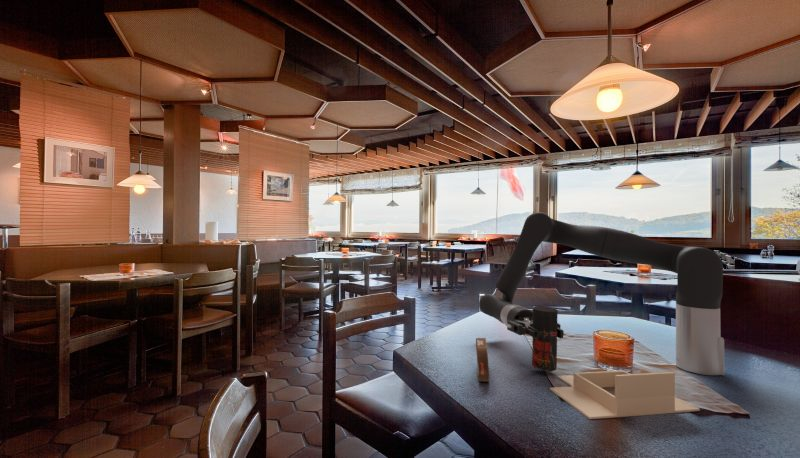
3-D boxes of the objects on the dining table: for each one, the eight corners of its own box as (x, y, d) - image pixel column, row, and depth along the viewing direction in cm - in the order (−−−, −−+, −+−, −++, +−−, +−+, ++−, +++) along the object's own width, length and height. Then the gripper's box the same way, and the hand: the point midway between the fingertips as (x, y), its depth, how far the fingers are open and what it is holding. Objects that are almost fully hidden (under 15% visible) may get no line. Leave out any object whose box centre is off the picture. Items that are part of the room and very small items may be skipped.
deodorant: (528, 362, 94) (528, 306, 94) (549, 362, 94) (550, 306, 94) (538, 371, 88) (539, 311, 88) (561, 371, 88) (562, 311, 88)
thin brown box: (489, 388, 81) (490, 351, 81) (476, 386, 81) (476, 350, 82) (486, 364, 96) (487, 334, 96) (475, 363, 96) (475, 333, 96)
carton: (535, 378, 86) (536, 346, 87) (625, 374, 90) (625, 343, 91) (589, 419, 67) (589, 377, 68) (699, 410, 71) (699, 371, 72)
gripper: (495, 306, 104) (524, 320, 87) (539, 305, 106) (576, 319, 90) (495, 331, 104) (523, 350, 87) (539, 330, 106) (575, 348, 90)
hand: (550, 334), depth 89 cm, fingers closed on deodorant, 6 cm apart
